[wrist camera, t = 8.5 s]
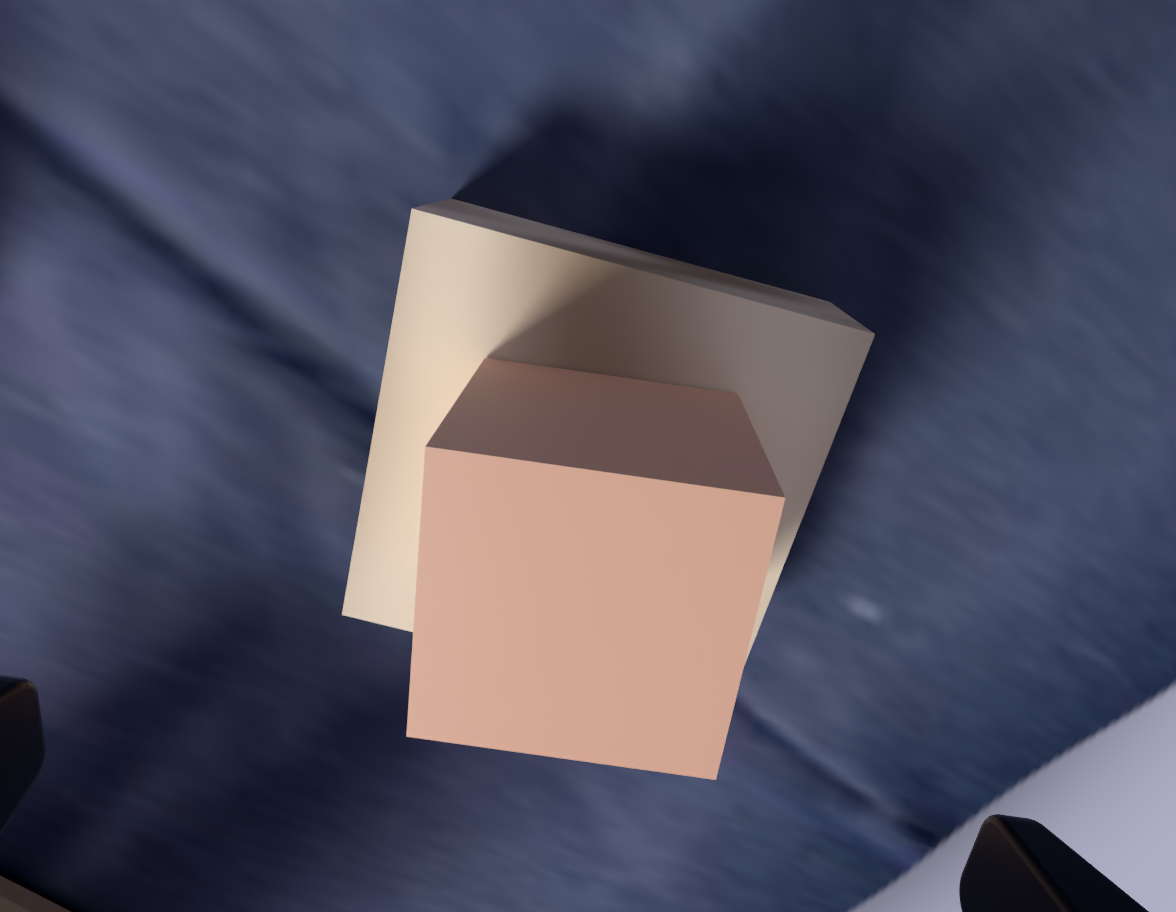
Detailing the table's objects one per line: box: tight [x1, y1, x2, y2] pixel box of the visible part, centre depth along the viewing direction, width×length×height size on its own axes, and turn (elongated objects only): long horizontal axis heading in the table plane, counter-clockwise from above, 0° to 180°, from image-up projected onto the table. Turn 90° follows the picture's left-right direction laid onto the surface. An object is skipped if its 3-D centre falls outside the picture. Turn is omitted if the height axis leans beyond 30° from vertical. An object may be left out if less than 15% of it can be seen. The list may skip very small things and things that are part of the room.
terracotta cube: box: [406, 358, 785, 780], centre depth 14 cm, size 5×5×5 cm
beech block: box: [342, 199, 875, 665], centre depth 18 cm, size 9×9×4 cm
